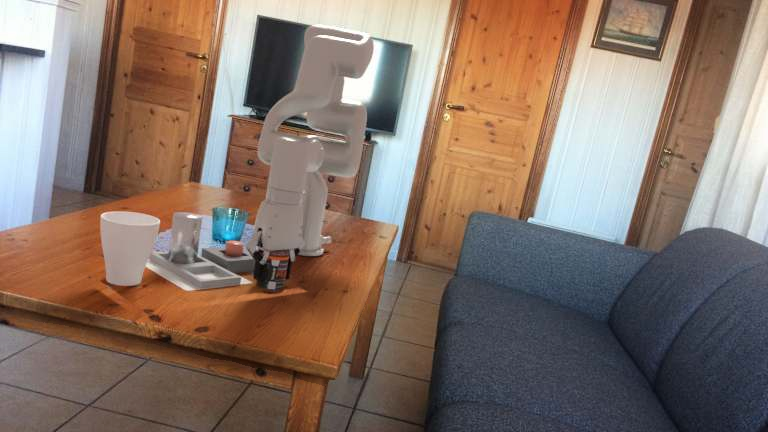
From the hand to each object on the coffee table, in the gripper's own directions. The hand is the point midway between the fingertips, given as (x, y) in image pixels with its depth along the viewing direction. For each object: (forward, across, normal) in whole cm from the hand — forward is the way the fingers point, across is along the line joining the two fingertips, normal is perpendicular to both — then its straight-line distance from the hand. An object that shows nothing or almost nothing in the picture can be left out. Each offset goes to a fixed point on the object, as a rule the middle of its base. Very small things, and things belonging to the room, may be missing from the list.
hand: (271, 278), depth 132 cm
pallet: (+3, +11, -12) cm, 16 cm away
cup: (+3, +27, -11) cm, 29 cm away
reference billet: (+1, +11, -17) cm, 20 cm away
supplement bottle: (+3, 0, 0) cm, 3 cm away
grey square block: (+3, 0, -14) cm, 14 cm away
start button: (-1, 0, -14) cm, 14 cm away
